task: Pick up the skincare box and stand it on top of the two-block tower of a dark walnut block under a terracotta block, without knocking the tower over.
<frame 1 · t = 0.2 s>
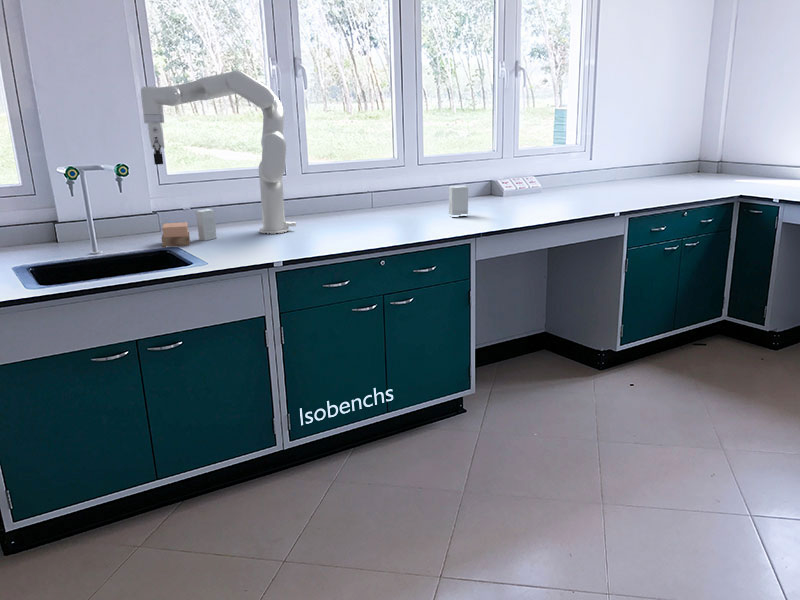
hand: (158, 163, 264), 31 cm above the table, tool pointing down, fingers open, 9 cm apart
skincare box: (207, 239, 270), on the table
tower base block: (176, 244, 262), on the table
skincare box 2: (458, 217, 317), on the table
tower top block: (176, 234, 261), point 4 cm above the table
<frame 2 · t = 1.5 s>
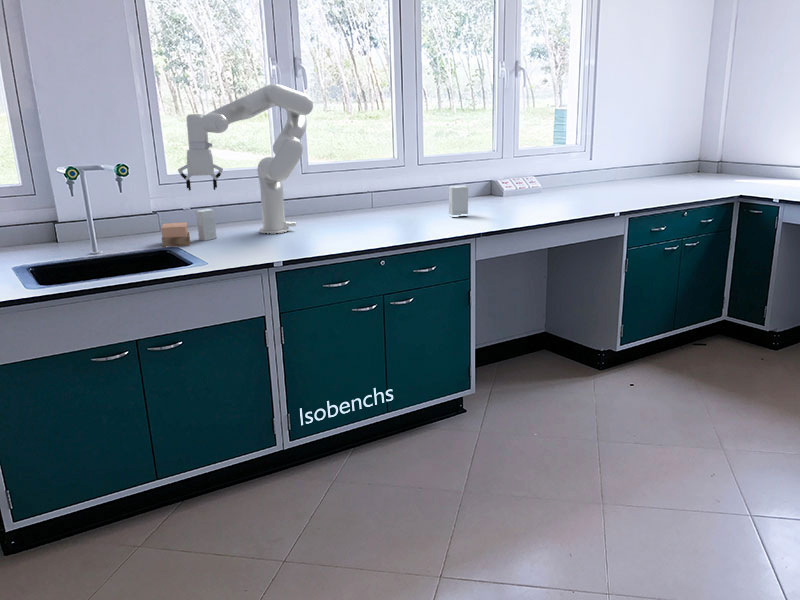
hand: (202, 189, 264), 20 cm above the table, tool pointing down, fingers open, 9 cm apart
nothing on the table moved.
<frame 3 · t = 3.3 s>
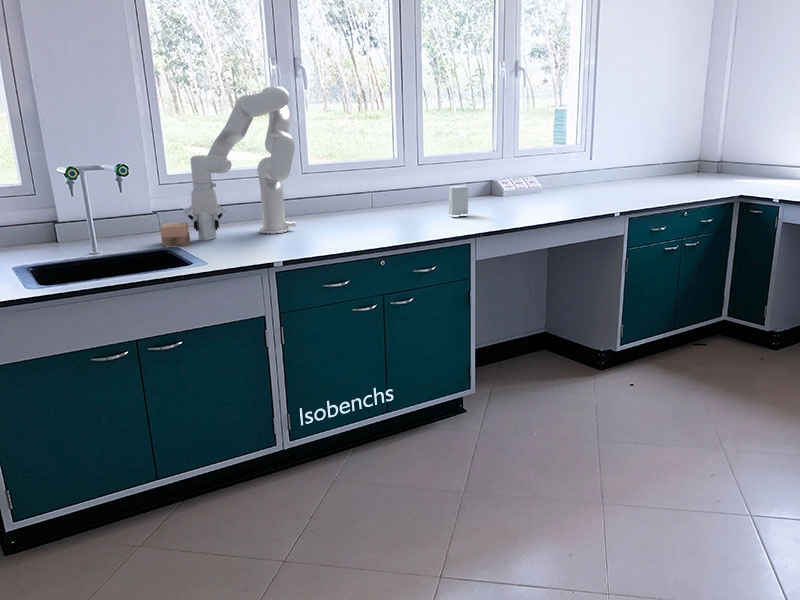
hand: (206, 229, 269), 4 cm above the table, tool pointing down, fingers closed on skincare box, 7 cm apart
skincare box: (207, 239, 270), on the table, touching gripper
tower base block: (176, 244, 262), on the table, touching tower top block
tower top block: (175, 234, 261), point 4 cm above the table, touching tower base block
everything else where it was.
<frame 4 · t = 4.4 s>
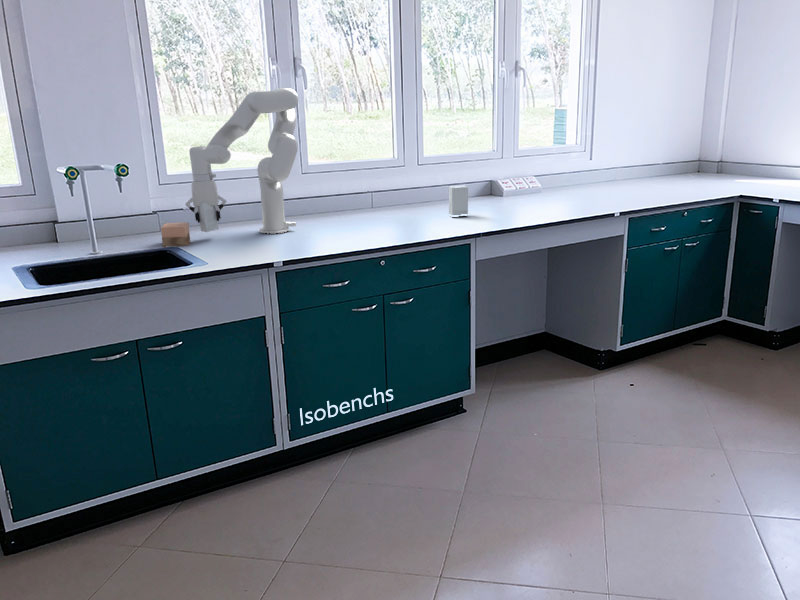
hand: (208, 221, 269), 7 cm above the table, tool pointing down, fingers closed on skincare box, 7 cm apart
skincare box: (209, 230, 270), point 3 cm above the table, touching gripper
everything else where it was.
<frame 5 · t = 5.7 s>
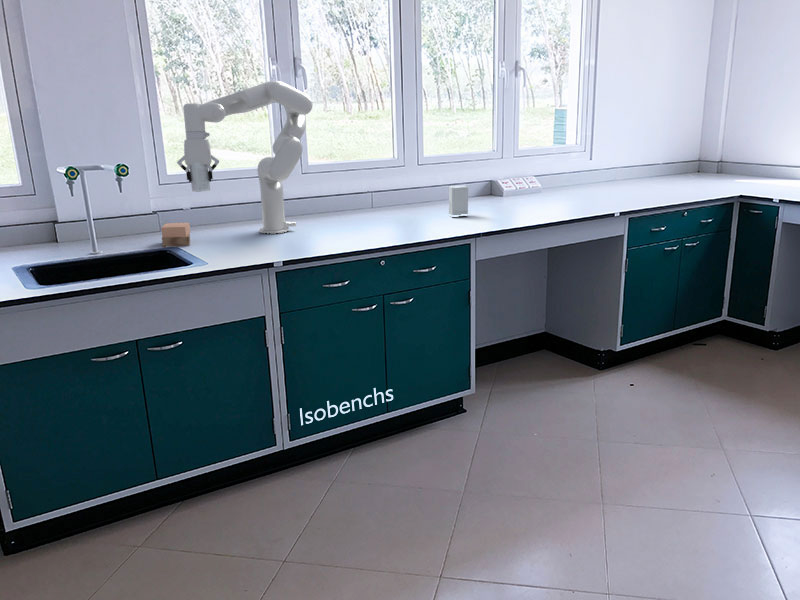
hand: (200, 181, 263), 24 cm above the table, tool pointing down, fingers closed on skincare box, 7 cm apart
skincare box: (201, 191, 264), point 20 cm above the table, touching gripper
everything else where it was.
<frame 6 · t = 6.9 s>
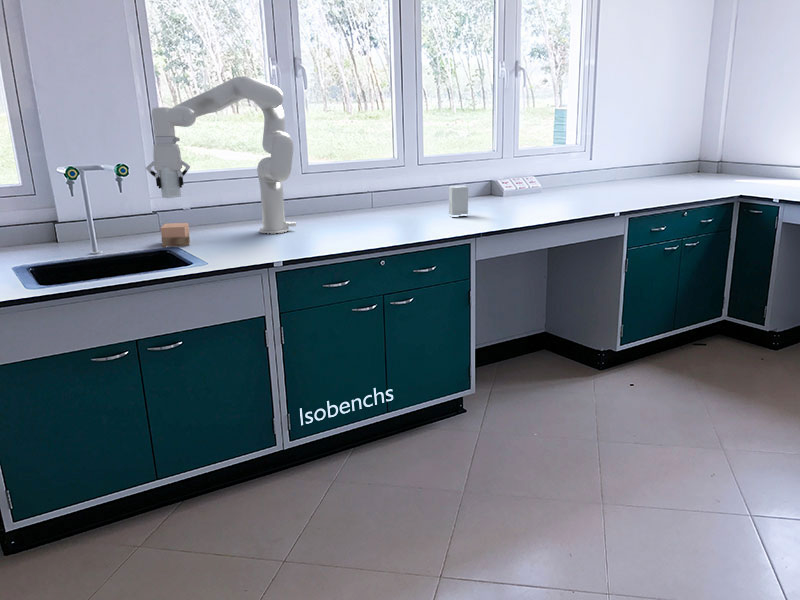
hand: (170, 187, 255), 22 cm above the table, tool pointing down, fingers closed on skincare box, 7 cm apart
skincare box: (171, 197, 256), point 18 cm above the table, touching gripper
everything else where it was.
when the fingers open (13 cm above the table, at t = 9.0 s): skincare box drops 2 cm, resting on tower top block.
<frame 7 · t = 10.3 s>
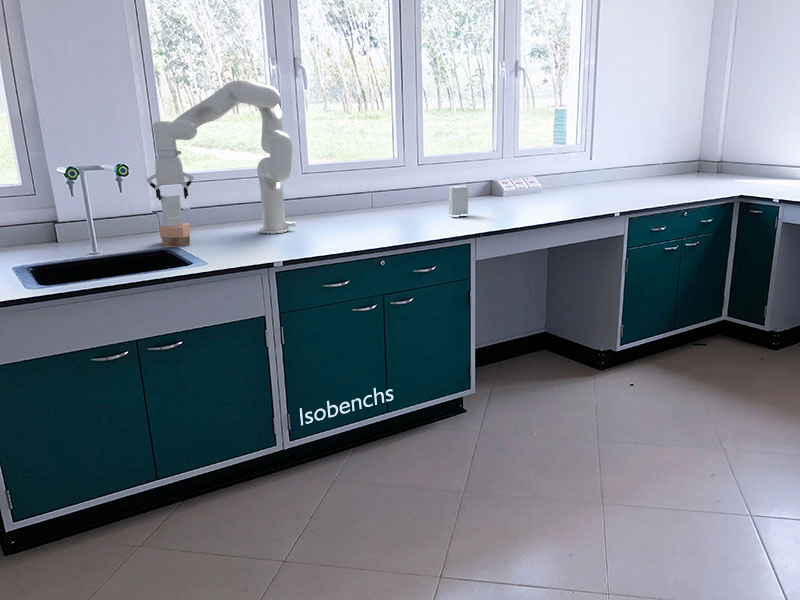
hand: (172, 198, 257), 18 cm above the table, tool pointing down, fingers open, 9 cm apart
skincare box: (173, 226, 260), point 7 cm above the table, touching gripper, tower top block
tower top block: (175, 235, 261), point 3 cm above the table, touching skincare box, tower base block
everything else where it was.
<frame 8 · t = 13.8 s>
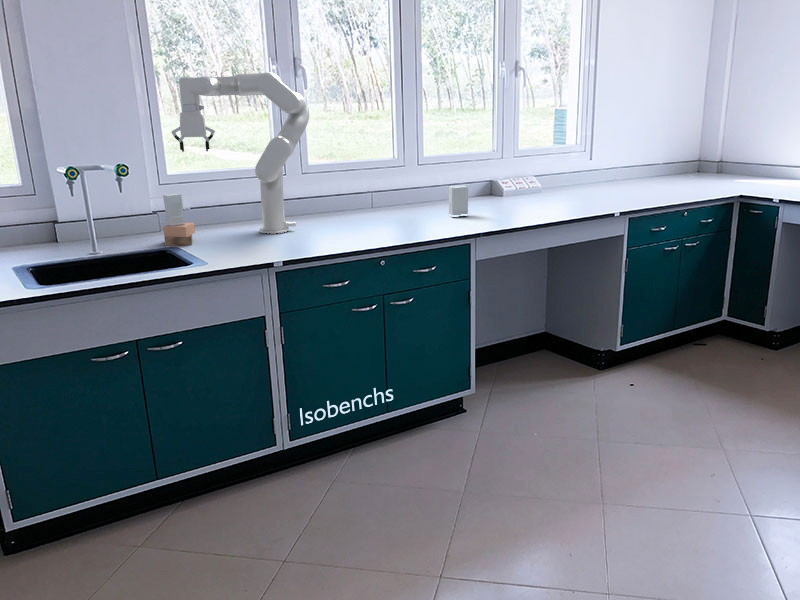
hand: (195, 151, 274), 34 cm above the table, tool pointing down, fingers open, 9 cm apart
skincare box: (176, 225, 260), point 7 cm above the table, touching tower top block
tower base block: (179, 244, 263), on the table
tower top block: (179, 234, 262), point 4 cm above the table, touching skincare box
everything else where it was.
at the end: skincare box 1.1 cm off-centre on the tower top block, point 3.9 cm above the tower top block's base; skincare box tilted 1°; tower top block inside the target area (1.7 cm from its centre), point 3.5 cm above the table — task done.
